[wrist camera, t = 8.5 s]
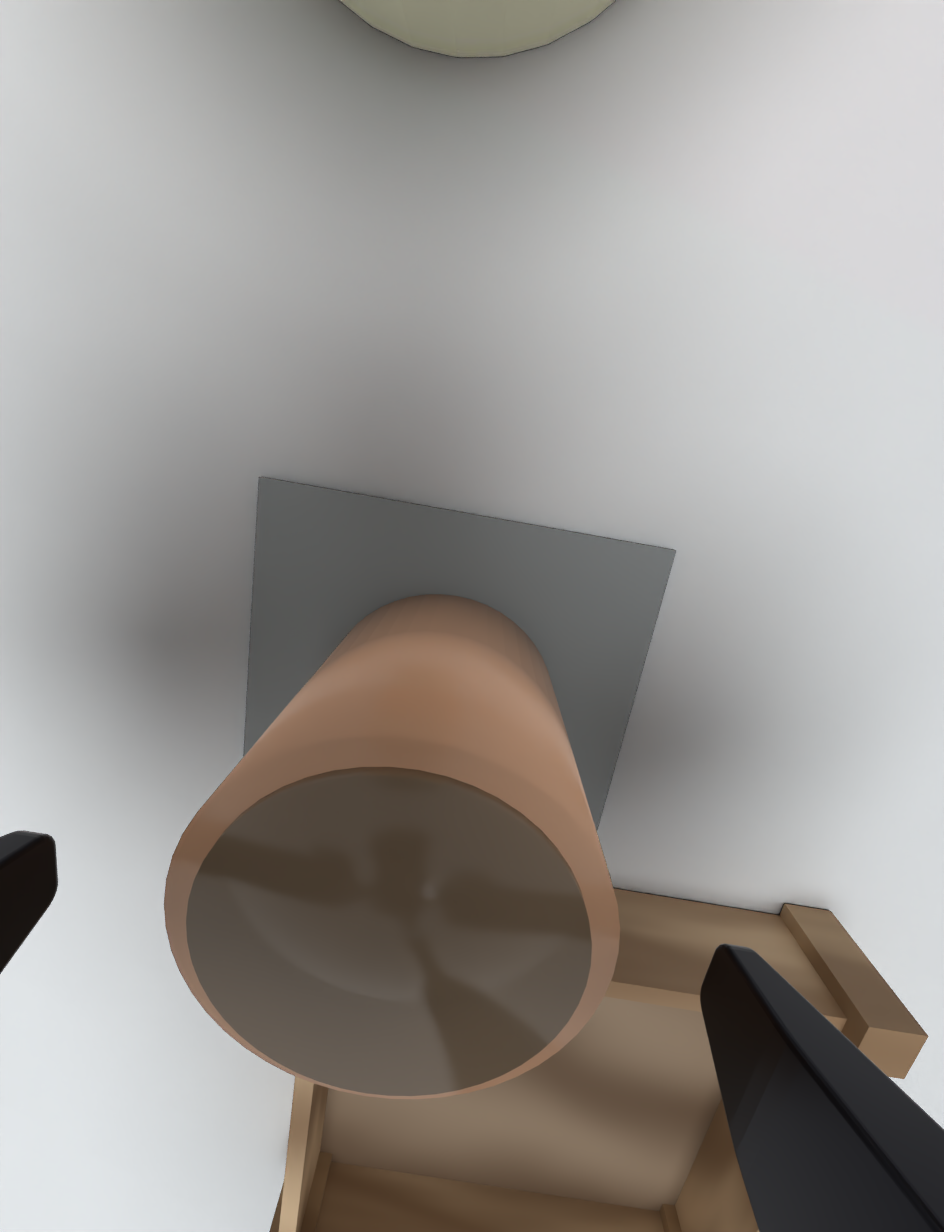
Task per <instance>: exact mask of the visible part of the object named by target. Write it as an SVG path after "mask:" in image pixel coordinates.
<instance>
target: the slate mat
mask: <svg viewBox="0 0 944 1232" xmlns="http://www.w3.org/2000/svg"><path fill="white" fill-rule="evenodd" d="M675 553H676V551H675V550H673V549H667V548H661V547H656V546H650V545H644V544H639V543H633V542H628V541H622V540H616V539H611V538H605V537H599V536H594V535H588V534H582V533H577V532H571V531H565V530H560V529H554V528H548V527H543V526H537V525H531V524H526V523H520V522H514V521H509V520H503V519H497V518H492V517H486V516H480V515H475V514H469V513H464V512H458V511H452V510H447V509H441V508H435V507H430V506H424V505H418V504H413V503H407V502H401V501H396V500H390V499H384V498H379V497H373V496H367V495H362V494H356V493H350V492H345V491H339V490H333V489H328V488H322V487H316V486H311V485H305V484H299V483H294V482H288V481H283V480H277V479H271V478H266V477H259V481H258V500H257V518H256V536H255V555H254V573H253V591H252V609H251V628H250V646H249V664H248V682H247V701H246V719H245V737H244V755H243V757H244V756H245V755H246V754H247V752H248V751H249V750H250V749H251V748H252V747H253V745H254V744H255V743H256V742H257V741H258V739H259V738H260V737H261V736H262V735H263V733H264V732H265V731H266V730H267V729H268V727H269V726H270V725H271V724H272V723H273V722H274V720H275V719H276V718H277V717H278V716H279V714H280V713H281V712H282V711H283V710H284V708H285V707H286V706H287V705H288V704H289V703H290V701H291V700H292V699H293V698H294V697H295V695H296V694H297V693H298V692H299V691H300V689H301V688H302V687H303V686H304V685H305V683H306V682H307V681H308V680H309V679H310V678H311V676H312V675H313V674H314V673H315V672H316V670H317V669H318V668H319V667H320V666H321V664H322V663H323V662H324V661H325V660H326V659H327V657H328V656H329V655H330V654H331V653H332V651H333V650H334V649H335V648H336V647H337V645H338V644H339V643H340V642H341V641H342V639H343V638H344V637H345V636H346V635H347V634H348V633H349V632H350V630H351V629H352V628H353V627H354V626H355V625H356V624H357V623H358V622H360V621H361V620H362V619H363V618H365V617H366V616H367V615H368V614H370V613H372V612H373V611H375V610H377V609H378V608H380V607H382V606H384V605H387V604H389V603H391V602H394V601H397V600H400V599H404V598H407V597H412V596H419V595H426V594H444V595H453V596H459V597H463V598H467V599H472V600H475V601H477V602H480V603H482V604H485V605H488V606H489V607H491V608H493V609H495V610H497V611H499V612H501V613H502V614H504V615H505V616H506V617H508V618H509V619H511V620H512V621H513V622H514V623H516V624H517V625H518V626H519V627H520V628H521V629H522V630H523V631H524V632H525V633H526V634H527V635H528V637H529V638H530V639H531V640H532V642H533V643H534V644H535V646H536V647H537V649H538V651H539V652H540V654H541V656H542V658H543V660H544V662H545V665H546V667H547V669H548V672H549V676H550V679H551V682H552V686H553V689H554V692H555V696H556V699H557V702H558V706H559V709H560V712H561V715H562V719H563V722H564V725H565V729H566V732H567V735H568V739H569V742H570V745H571V749H572V752H573V755H574V759H575V762H576V765H577V768H578V772H579V775H580V778H581V782H582V785H583V788H584V792H585V795H586V798H587V802H588V805H589V808H590V812H591V815H592V818H593V821H594V825H595V828H596V831H597V829H598V826H599V822H600V818H601V815H602V811H603V808H604V804H605V801H606V797H607V794H608V790H609V787H610V783H611V780H612V776H613V772H614V769H615V765H616V762H617V758H618V755H619V751H620V748H621V744H622V741H623V737H624V734H625V730H626V726H627V723H628V719H629V716H630V712H631V709H632V705H633V702H634V698H635V695H636V691H637V688H638V684H639V681H640V677H641V673H642V670H643V666H644V663H645V659H646V656H647V652H648V649H649V645H650V642H651V638H652V635H653V631H654V627H655V624H656V620H657V617H658V613H659V610H660V606H661V603H662V599H663V596H664V592H665V589H666V585H667V581H668V578H669V574H670V571H671V567H672V564H673V560H674V557H675Z"/></svg>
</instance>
